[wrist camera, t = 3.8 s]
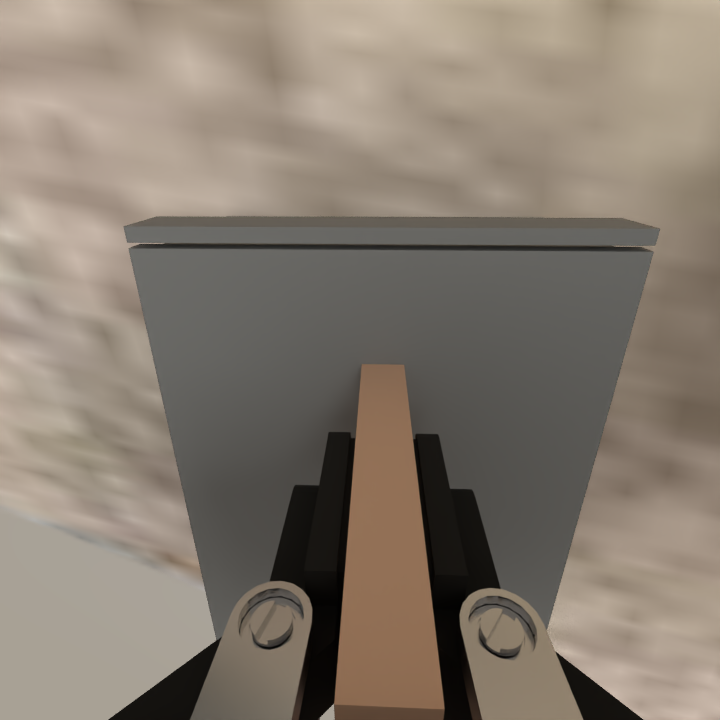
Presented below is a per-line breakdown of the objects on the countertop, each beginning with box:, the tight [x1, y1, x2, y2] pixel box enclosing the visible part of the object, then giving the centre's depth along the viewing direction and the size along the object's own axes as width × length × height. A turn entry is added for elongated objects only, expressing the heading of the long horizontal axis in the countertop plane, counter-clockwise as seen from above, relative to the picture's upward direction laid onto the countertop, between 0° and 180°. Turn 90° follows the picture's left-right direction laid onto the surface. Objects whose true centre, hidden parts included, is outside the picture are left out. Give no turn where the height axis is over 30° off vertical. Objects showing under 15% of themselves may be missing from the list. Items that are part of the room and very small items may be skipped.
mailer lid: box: [124, 217, 660, 720], centre depth 12 cm, size 21×13×10 cm, turn 0°
